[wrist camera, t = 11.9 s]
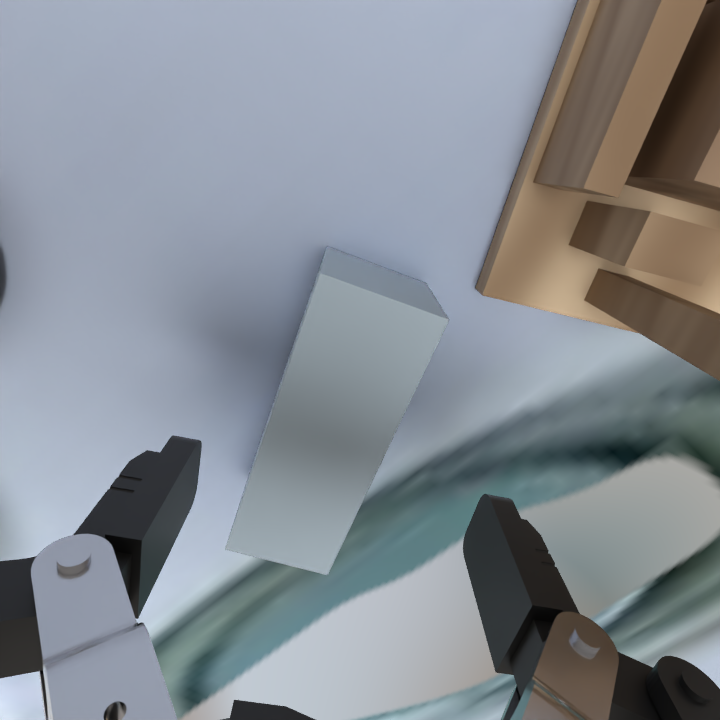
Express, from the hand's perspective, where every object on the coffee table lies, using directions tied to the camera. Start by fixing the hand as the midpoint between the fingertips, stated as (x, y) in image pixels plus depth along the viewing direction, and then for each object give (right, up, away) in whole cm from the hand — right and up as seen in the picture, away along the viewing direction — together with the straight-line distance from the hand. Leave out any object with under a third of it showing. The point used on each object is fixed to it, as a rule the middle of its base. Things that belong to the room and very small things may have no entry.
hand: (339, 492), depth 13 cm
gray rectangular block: (-1, +3, +6) cm, 7 cm away
